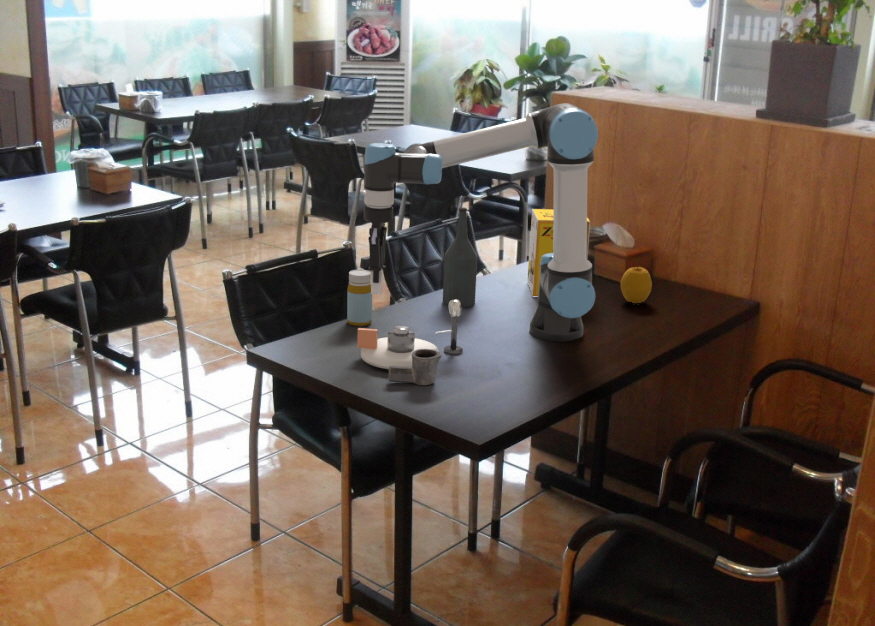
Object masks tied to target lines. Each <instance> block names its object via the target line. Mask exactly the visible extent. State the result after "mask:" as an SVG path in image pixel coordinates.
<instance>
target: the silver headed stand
mask: <svg viewBox="0 0 875 626" xmlns="http://www.w3.org/2000/svg"><path fill="white" fill-rule="evenodd" d="M447 308H448V312H449V314H450V316H451V328H450V329H448V330H442V331H435V334H436V335H437V334H438V335H439V334H446V333H450V345H447V346H444V348H443V353H444V354H446V355H450V356H458V355H461V354H464V353H463V351H464V349H463V347H462V346H459V345H458V343H457V341H458V321H459V320H458V319H459V317H461V315H462V312H463V309H462V306H461V303H460V301H459V300H451V301H450V302H449V305H448V306H447Z"/></svg>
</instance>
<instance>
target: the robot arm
mask: <svg viewBox="0 0 875 626" xmlns="http://www.w3.org/2000/svg"><path fill="white" fill-rule="evenodd" d="M598 139H599V130H598V126H597V124H596V121H595V120H594V118H593V117H592V115H591V114H590V113H589V112H587V110H586V111H585V109H582V108H580V107H579V106H577V105H575V104H571V103H567V102H566V103H565V102H564V103H558V104H555V105H551V106H548V107H545V108H541V109H539V110H538V109H537V110H535V111H533V112H528V113H527V114H526V115H525V117H524V118H520V119H516V120H513V121H508V122H504V123H500V124H497V125H496V124H495V125H491V126H489V127H485V128H480V129H476V130H472V131H468V132H464V133H460V134H456V135H452V136H448V137H444V138H441V139H436V140H432V141H429V142H425V143H418V142H417V143H412V144H410V145H408V146H407V147H406V148H405V149H404V152H396V149H395V148H396V147H395V145H394V144H391V143H382V142H379V143H378V142H373V143H369V144H368V145H367V146H366V147H365V149H364V150H365V152H364V169H363V170H364V176H363V178H364V183H363V184H364V185H363V186H364V187H363V188H364V190H362V192H361V194H362V195H363V196H364V197H363V201H364V202H363V203H364V204H365V205H364V206H363V220H364V221H366V222H369V223H370V224H371V225H370V226H371V227H369V230H368V234H369V236H368V238H367V239H368V246H369V267H368V269H367V271H370V272H371V294H372V295H379V296H381V295H382V293H383V279H384V278H383V276H384V274H383V272H384V270H383V269H386V267H387V266H386V265H384V264H385V262H386V261H385V259H386V258H385V257H386V256H385V255H386V245H387V244H386V242H387V231H388V226H386V223H390V222H392V221H393V220H394V207H393V205H394V204H395V201H394V200H395V186H394V185H395V184H396V183H397V184H419V185H420V184H422V185H437V184H440V182H441V181H442V175H443V169H444V168H448V167H452V166H453V167H454V166H458V165H461V164H465V163H469V162H474V161H478V160H481V159H485V158H488V157H493V156H498V155H502V154H505V153H510V152H514V151H518V150H522V149H526V148H530V147H532V148H534V149H535V150H537V149H541V148H547V164H549V166H551V167H552V170H553V210H554V227H553V253H548V254H544V255H543V256H542V257H541V263H540V277H539V292H538V298H537V305H536V308H535V311H534V313H533V315H532V318H531V320H530V323H529V333H530V335H532V336H534V337H535V338H538V339H541V340H545V341H550V342H558V343H559V342H572V340H574V341H576V340H575V339H577V340H579V339H578V338H580V337H581V338H583V336H584V324H583V319H582V316H584V315H585V314H587V313H588V312H589V311H590V310H591V309H592V308H593V306H594V304H595V301H596V291H595V287H594V286H593V263H591V261H590V260H588V257H587V258H586V247H587V218H588V173H589V172H588V169H589V167H590V166H591V165H592V164H593V163H594V161H595V160H594V159H595V148H596V146H597V142H598ZM581 338H580V339H581Z"/></svg>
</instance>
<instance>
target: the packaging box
mask: <svg viewBox="0 0 875 626" xmlns="http://www.w3.org/2000/svg"><path fill="white" fill-rule="evenodd" d="M530 221H531V223H530V224H531V225H530V235H529V236H530V238H529V239H530V240H529V251H528V252H529V253H528V266H527V267H528V268H527V281H528V283H527V285H528V284H529V286H528V288H529V287H530V289H529V291H530V290H531V291H530V294H531V293H532V294H531V297H532V296H538V292H539V277H540V263H541V257H542V256H543V255H544V254H548V253H553V227H554V208H553V209H551V208H550V209H549V208H548V209H547V208H531V220H530ZM590 232H591V221H590V219H589V218H588V217H587V247H586V258H587V259H588V255H589V254H588V253H589V243H590ZM527 281H526V282H527Z"/></svg>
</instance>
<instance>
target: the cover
mask: <svg viewBox="0 0 875 626" xmlns="http://www.w3.org/2000/svg"><path fill="white" fill-rule="evenodd" d="M415 335H416V334H415V332H414V331H412V330H410V327H408V326H406V325H396V326H394V327H393V329H391V330H389V331H388V332H387V337H388V342H387V349H388V350H389V351H391V352H395V353H408V352H411V351H413V350H414V342H415V338H416V336H415Z"/></svg>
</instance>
